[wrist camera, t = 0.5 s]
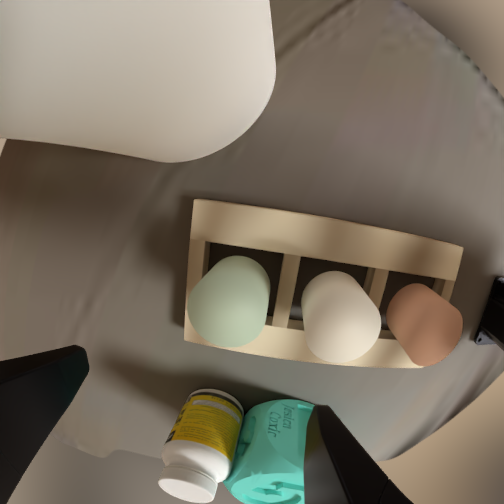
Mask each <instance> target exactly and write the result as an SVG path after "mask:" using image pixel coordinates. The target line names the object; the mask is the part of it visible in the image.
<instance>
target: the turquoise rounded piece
mask: <svg viewBox="0 0 504 504" xmlns="http://www.w3.org/2000/svg"><path fill="white" fill-rule="evenodd" d="M314 406H315V405H313V404H311V403H308V402H305V401H300V400H291V399H282V400H273V401H268V402H265V403H262V404H259V405H256V406H254V407H253V408H251V409H250V410H249V411H248V413H247V414H246V415H245V417H244V418H243V422H242V426H241V430H240V435H239V439H238V444H237V448H236V452H235V457H234V461H233V466H232V469H231V473H230V475H229V476H228V477H227V478H226V479H225V480H223V483H224V485H225V486H226V488H227V489H228V490H229V492H230V493H231V494H232V495H233V496H234V497H235V498H236V499H238V500H239V501H241V502H243V503H245V504H305V502H304V475H303V467H304V454H305V443H306V429H307V423H308V420H309V418H310V415H311V412H312V410H313V407H314Z"/></svg>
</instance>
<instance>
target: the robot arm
mask: <svg viewBox="0 0 504 504" xmlns="http://www.w3.org/2000/svg"><path fill="white" fill-rule="evenodd" d="M474 342H475V343H476V344H477V345H484V344H497V345H498V346H499V347H500V348H501V349H502V350H503V351H504V278H503V277H497V278H496V279H495V281H494V284H493V288H492V291H491V294H490V298H489V301H488V304H487V307H486V310H485V312H484V315H483V318H482V321H481V323H480V326H479V328H478V331H477V333H476V336H475V338H474ZM88 372H89V363H88V358H87V354H86V350H85V349H84V348H82V347H80V346H78V345H72V346H68V347H63V348H59V349H55V350H51V351H46V352H42V353H37V354H33V355H28V356H24V357H19V358H14V359H9V360H4V361H0V504H7V502H8V500H9V498H10V497H11V494H12V493H13V491H14V490H15V488H16V486H17V484H18V483H19V481H20V479H21V478H22V476H23V474H24V473H25V471H26V469H27V468H28V466H29V464H30V463H31V461H32V460H33V458H34V457H35V455H36V453H37V452H38V450H39V449H40V447H41V446H42V444H43V443H44V441H45V440H46V438H47V437H48V435H49V434H50V432H51V431H52V429H53V428H54V427H55V425H56V424H57V422H58V421H59V419H60V418H61V416H62V415H63V414H64V412H65V411H66V409H67V408H68V407H69V405H70V404H71V402H72V400H73V399H74V397H75V395H76V393H77V392H78V390H79V388H80V386H81V385H82V383H83V381H84V379H85V378H86V376H87V374H88ZM303 475H304V502H305V504H414V503H412V502H411V501H410V500H409V499H408V498H407V497H406V496H405V495H404V494H403V493H402V492H401V491H400V490H399V489H398V488H397V487H396V486H395V484H394V483H393V482H392V481H391V480H390V479H388V476H387V475H386V474H385V473H384V472H383V471H382V470H381V469H380V467H379V466H378V465H377V464H376V462H375V461H374V460H373V459H372V458H371V457H370V455H369V454H368V453H367V452H366V451H365V449H364V448H363V447H362V446H361V445H360V443H359V442H358V441H357V440H356V439H355V437H354V436H353V435H352V434H351V433H350V431H349V430H348V429H347V428H346V426H345V425H344V424H343V423H342V422H341V420H340V419H339V418H338V417H337V415H336V414H335V413H334V412H333V410H332V409H331V408H330V407H329V406H328V405H319V404H317V405H315V406H314V407H313V410H312V412H311V415H310V418H309V420H308V423H307V429H306V443H305V454H304V467H303Z"/></svg>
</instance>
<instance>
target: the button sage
mask: <svg viewBox="0 0 504 504" xmlns="http://www.w3.org/2000/svg"><path fill="white" fill-rule="evenodd" d="M269 296H270V280H269V277H268V275H267V273H266V271H265V270H264V268H263V267H262V266H261V265H260V264H259V263H257V262H256V261H255V260H253V259H251V258H248V257H244V256H230V257H227V258H224V259H222V260H220V261H219V262H218V263H217V264H215V266H214V267H213V268H212V269H211V270H210V271H209V272H208V273H207V274H206V275H205V276H204V277H203V278H202V279H201V280H200V281H199V282H198V284H197V285H196V286H195V287H194V288H193V290H192V291H191V293H190V295H189V298H188V303H187V312H188V317H189V320H190V322H191V324H192V326H193V328H194V329H195V330H196V332H197V333H198V334H199V335H200V336H201V337H203V338H204V339H205V340H207V341H208V342H210V343H212V344H215V345H218V346H221V347H239V346H243V345H246V344H248V343H250V342H251V341H253V340H254V339H255V338H257V337H258V335H259V334H260V333H261V331H262V330H263V328H264V325H265V322H266V316H267V309H268V303H269Z"/></svg>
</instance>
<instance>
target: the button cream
mask: <svg viewBox="0 0 504 504" xmlns="http://www.w3.org/2000/svg"><path fill="white" fill-rule="evenodd" d="M301 308H302V315H303V323H304V330H305V338H306V342H307V345H308V347H309V349H310V350H311V352H312V353H313V354H314V355H315V356H317V357H318V358H320V359H322V360H324V361H327V362H332V363H344V362H349V361H352V360H354V359H357V358H359V357H360V356H362V355H363V354H365V353H366V352H367V351H368V350H369V349H370V348H371V347H372V346H373V345H374V343H375V342H376V340H377V338H378V336H379V333H380V329H381V317H380V313H379V311H378V309H377V307H376V306H375V305H374V303H373V302H372V301H371V299H370V298H369V297H368V295H367V294H366V293H365V291H364V290H363V289H362V288H361V286H360V285H359V284H358V282H357V281H356V280H355V279H354V278H353V277H352V276H350V275H349V274H347V273H344V272H340V271H328V272H324V273H322V274H319V275H318V276H316V277H315V278H313V279H312V280H311V281H310V282H309V283H308V284H307V286H306V287H305V289H304V291H303V294H302V298H301Z"/></svg>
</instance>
